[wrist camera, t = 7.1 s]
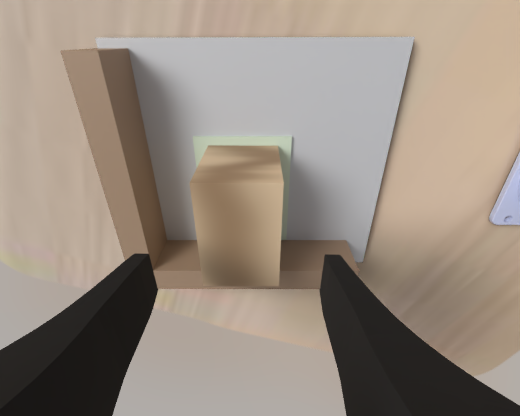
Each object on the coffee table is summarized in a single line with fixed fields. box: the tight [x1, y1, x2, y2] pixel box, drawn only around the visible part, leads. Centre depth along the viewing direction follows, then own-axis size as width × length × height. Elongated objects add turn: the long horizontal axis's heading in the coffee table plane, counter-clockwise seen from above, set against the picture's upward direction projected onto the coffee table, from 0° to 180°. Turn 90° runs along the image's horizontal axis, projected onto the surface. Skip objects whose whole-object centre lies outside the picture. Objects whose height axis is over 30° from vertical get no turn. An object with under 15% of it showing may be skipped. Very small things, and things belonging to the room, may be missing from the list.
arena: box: [61, 37, 414, 289], centre depth 16 cm, size 16×14×4 cm
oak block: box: [189, 145, 284, 286], centre depth 16 cm, size 4×6×5 cm, turn 0°
